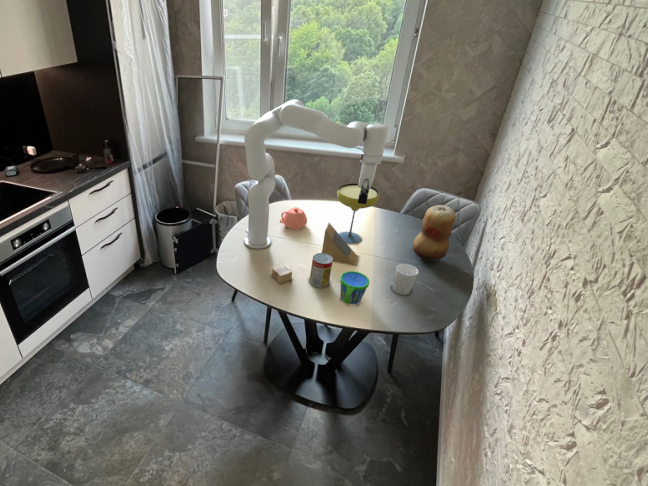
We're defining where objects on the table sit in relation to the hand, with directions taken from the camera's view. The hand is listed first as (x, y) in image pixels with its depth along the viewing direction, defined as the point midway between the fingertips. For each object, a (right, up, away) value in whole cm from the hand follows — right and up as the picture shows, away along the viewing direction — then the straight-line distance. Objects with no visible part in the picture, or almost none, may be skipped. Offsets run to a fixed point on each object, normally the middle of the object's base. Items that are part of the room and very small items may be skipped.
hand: (363, 198), depth 163 cm
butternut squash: (+35, -24, +16) cm, 46 cm away
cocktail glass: (+7, -14, +33) cm, 37 cm away
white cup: (+15, -37, -2) cm, 40 cm away
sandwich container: (-3, -24, +19) cm, 31 cm away
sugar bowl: (-18, -7, +46) cm, 50 cm away
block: (-32, -33, +9) cm, 46 cm away
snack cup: (-7, -41, -5) cm, 42 cm away
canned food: (-16, -35, +5) cm, 39 cm away
